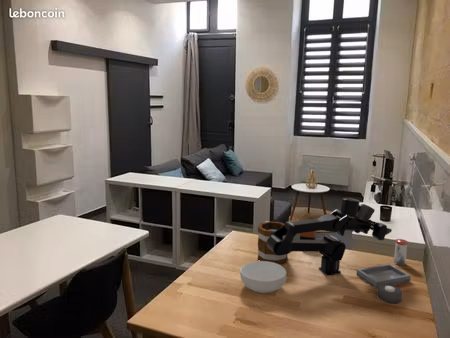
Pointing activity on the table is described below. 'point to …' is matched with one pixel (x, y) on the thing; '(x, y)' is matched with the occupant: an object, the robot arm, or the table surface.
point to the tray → (383, 275)
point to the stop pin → (400, 252)
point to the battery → (308, 235)
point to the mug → (263, 251)
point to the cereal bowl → (263, 276)
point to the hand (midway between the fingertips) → (383, 226)
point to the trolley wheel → (389, 293)
